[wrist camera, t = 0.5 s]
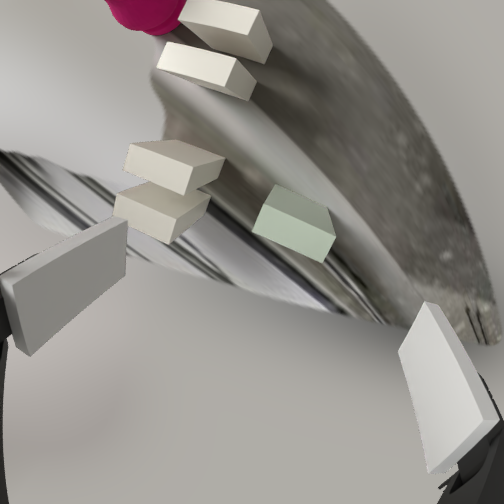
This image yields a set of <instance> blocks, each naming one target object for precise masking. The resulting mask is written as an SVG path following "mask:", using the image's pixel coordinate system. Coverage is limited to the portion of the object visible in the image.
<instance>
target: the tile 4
mask: <svg viewBox="0 0 504 504" xmlns="http://www.w3.org/2000/svg"><path fill="white" fill-rule="evenodd" d="M156 68H158V69H160V70H163V71H165V72H168V73H170V74H173V75H175V76H178V77H180V78H183V79H185V80H187V81H190V82H192V83H194V84H197V85H200V86H203V87H206V88H209V89H213V90H216V91H219V92H222V93H225V94H228V95H231V96H234V97H237V98H240V99H243V100H245V101H249V99H250V97H251V94H252V92H253V89H254V87H255V85H256V83H257V81H256V80H255V79H254V78H253V76H252V75H251V74H250V73H249V72H248V71H247V70H246V68H245V67H244V66H243V65H242V64H241V63H240V62H239V61H238V60H237V59H236V58H233V57H229V56H226V55H222V54H219V53H215V52H211V51H207V50H203V49H199V48H195V47H191V46H186V45H182V44H177V43H172V42H167V43H166V46H165V48H164V50H163V53H162V55H161V57H160V60H159V62H158V65H157V67H156Z"/></svg>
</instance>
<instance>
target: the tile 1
mask: <svg viewBox="0 0 504 504" xmlns="http://www.w3.org/2000/svg"><path fill="white" fill-rule="evenodd" d="M210 198H211V195H209V194H206V193H204V192H201V191H199V190H197V189H195V190H194V191H192V192H190V193H188V194H186V195H181V194H179V193H177V192H174V191H172V190H169V189H167V188H165V187H162V186H160V185H157V184H155V183H152V182H147V183H144V184H141V185H138V186H136V187H133V188H130V189H127V190H125V191H122V192H119V193H117V196H116V200H115V205H114V209H113V214H112V217H113V216H116V217H119V218H123V219H127V220H128V226H130V227H132V228H134V229H136V230H138V231H140V232H142V233H144V234H146V235H149V236H151V237H153V238H155V239H157V240H159V241H161V242H164V243H166V244H168V245H169V244H170V243H171V242H172V241H174V240H175V239H176V238H177V237H178V236H180V235H181V234H182V233H183V232H184V231H186V230H187V229H188V228H189V227H190V226H191V225H193V224H194V223H195V222H196V221H198V220H199V219H200V218H201V217H202V216H204V214H205V212H206V209H207V206H208V203H209V201H210Z"/></svg>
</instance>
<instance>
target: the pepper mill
mask: <svg viewBox="0 0 504 504" xmlns="http://www.w3.org/2000/svg"><path fill="white" fill-rule="evenodd" d="M105 1H106V2H107V3H108V5H109V7H110V9H111V12H112V14H113V16H114V17H115V19H116V20H117V21H118V22H119V23H120V24H122V25H123V26H124V27H126V28H128V29H131V30H136V31H143V32H145V33H147V34H149V35H162V34H166V33H168V32H170V31H172V30H173V29H175V28H176V27H177V26H178V25H179V24H180V23H181V22H180V21H179V20H178V18H179V16H180V14H181V12H182V10H183V8H184V6H185V4H186V0H105Z"/></svg>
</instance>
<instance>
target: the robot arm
mask: <svg viewBox="0 0 504 504" xmlns="http://www.w3.org/2000/svg"><path fill="white" fill-rule="evenodd" d="M127 227H128V220H127V219H123V218H119V217H116V216H113V217H111V218H109V219H107V220H105V221H102V222H100V223H98V224H96V225H94V226H92V227H90V228H88V229H86V230H84V231H82V232H80V233H78V234H76V235H74V236H72V237H70V238H68V239H66V240H64V241H62V242H60V243H58V244H56V245H54V246H52V247H50V248H49V249H47V250H44V251H43V252H41V253H38V254H35V255H33V256H31V257H29V258H27V259H26V260H25V261H22V262H20V263H18V265H15V266H13V267H11V268H10V269H8V270H6V271H4V272H3V273H1V274H0V504H9V502H8V495H7V488H6V479H5V470H4V457H3V430H2V429H3V427H2V425H3V417H2V416H3V393H4V379H5V369H6V360H7V351H8V342H7V339H6V338H7V337H8V336H9V335H11V334H12V335H13V339H14V342H15V345H16V347H17V348H18V349H20V350H21V351H23V352H24V353H25V354H27V355H28V356H32V355H33V354H34V353H35V352H36V351H37V350H38V349H39V348H40V347H41V346H42V345H44V344H45V343H46V342H47V341H48V340H49V339H50V338H51V337H53V336H54V335H55V334H56V333H57V332H58V331H59V330H61V329H62V328H63V327H64V326H65V325H66V324H67V323H69V322H70V321H71V320H72V319H73V318H74V317H76V316H77V315H78V314H79V313H80V312H81V311H83V310H84V309H85V308H86V307H87V306H88V305H90V304H91V303H92V302H93V301H94V300H96V299H97V298H98V297H99V296H100V295H102V294H103V293H104V292H105V291H107V290H108V289H109V288H110V287H111V286H113V285H114V284H115V283H116V282H118V281H119V280H120V279H121V278H122V277H124V276H125V269H126V244H127ZM398 354H399V357H400V360H401V364H402V367H403V370H404V374H405V377H406V380H407V384H408V387H409V391H410V395H411V399H412V403H413V407H414V411H415V415H416V419H417V423H418V427H419V431H420V436H421V441H422V445H423V450H424V455H425V460H426V466H427V471H428V474H434V473H435V474H436V473H446V472H447V471H448V470H449V469H450V468H452V467H453V466H454V465H455V464H456V463H457V464H458V468H459V470H458V471H457V472H456V473H455V474H454V475H452V476H451V477H450V478H449V479H447V480H446V481H445V482H444V483H442V484H441V485H440V486H439V487H438V488H439V489H441V488H443V487H444V486H445V485H447V487H446V489H445V490H444V491H443V492H444V493H443V494H442V496H441V498H440V499H439V501H438V503H437V504H504V420H503V418H502V416H501V414H500V412H499V409H498V407H497V405H496V403H495V401H494V399H492V395H491V393H490V391H488V387H487V385H486V383H485V381H484V379H483V378H482V377H481V375H479V373H478V372H477V371H476V369H475V367H474V365H473V363H472V361H471V360H470V358H469V356H468V354H467V352H466V351H465V349H464V347H463V345H462V343H461V342H460V340H459V338H458V337H457V335H456V333H455V331H454V330H453V328H452V326H451V325H450V323H449V321H448V320H447V318H446V317H445V315H444V313H443V312H442V310H441V309H440V307H439V305H437V304H433V303H429V302H426V301H424V303H423V305H422V307H421V309H420V311H419V313H418V315H417V317H416V319H415V321H414V323H413V325H412V327H411V329H410V330H409V332H408V334H407V336H406V338H405V340H404V341H403V343H402V345H401V347H400V349H399V350H398Z"/></svg>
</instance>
